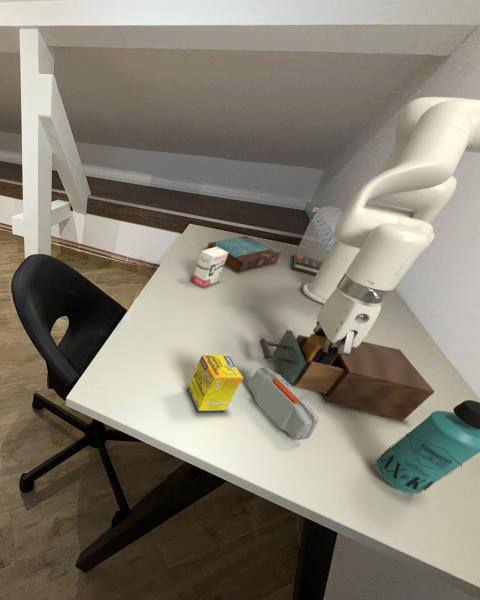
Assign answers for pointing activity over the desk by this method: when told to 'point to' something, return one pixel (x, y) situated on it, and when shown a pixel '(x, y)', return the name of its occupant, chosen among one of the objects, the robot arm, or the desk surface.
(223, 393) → the supplement box
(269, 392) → the gray case
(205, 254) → the ink box
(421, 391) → the cabinet
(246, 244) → the book
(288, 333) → the drawer
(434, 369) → the desk surface
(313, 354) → the block
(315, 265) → the calculator
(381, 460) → the beverage bottle
